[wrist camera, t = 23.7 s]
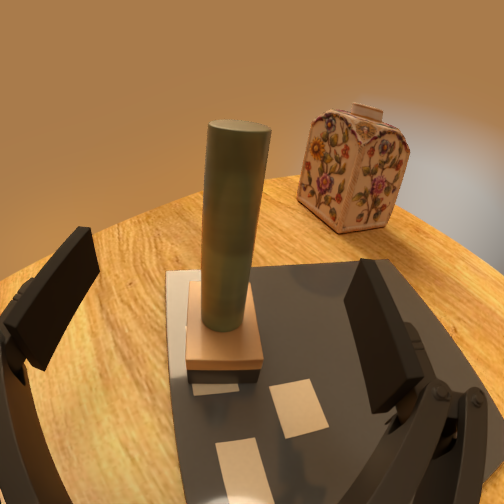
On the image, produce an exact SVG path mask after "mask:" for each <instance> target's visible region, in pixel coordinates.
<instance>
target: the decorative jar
mask: <svg viewBox="0 0 504 504" xmlns="http://www.w3.org/2000/svg"><path fill="white" fill-rule="evenodd" d="M382 116H383V111H382V110H380V109H377V108H374V107H370V106H366V105H363V104H359V103H354V102H353V103H352V109H351V112H347V111H343V110H335V109H331V110H328V111H327V112H324V113H322V114H321V115H320V116H319V117H316V118H315V120H313V121H312V122H311V128H310V132H309V137H308V142H307V147H306V151H305V155H304V160H303V166H302V170H301V176H300V181H299V186H298V192H297V200H299V201H300V202H301V203H302V204H304V205H305V206H306V207H307V208H308V209H310V210H311V211H312V212H313V213H315V214H316V215H317V216H318V217H319V218H320V219H322V220H323V221H324V222H325V223H326V224H327V225H329V226H330V227H331V228H332V229H333V230H334V231H336V232H337V233H345V232H353V231H359V230H366V229H372V228H378V227H384V226H386V225H387V223H388V221H389V219H390V216H391V213H392V211H393V208H394V205H395V202H396V199H397V196H398V192H399V189H400V186H401V183H402V180H403V177H404V173H405V170H406V166H407V162H408V159H409V155H410V149H409V147H408V144H407V143H406V140H405V137H404V136H403V134H402V133H401V132H400V130H399V129H398V128H396V127H394V126H391V125H389V124H386V123H384V122H382Z"/></svg>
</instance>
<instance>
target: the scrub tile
mask: <svg viewBox="0 0 504 504" xmlns="http://www.w3.org/2000/svg"><path fill="white" fill-rule="evenodd" d="M375 262H376V264H377V266H378V268H379V270H380V272H381V274H382V276H383V278H384V280H385V282H386V285H387V287H388V289H389V291H390V293H391V295H392V297H393V300H394V302H395V304H396V306H397V308H398V311H399V313H400V315H401V317H402V320H403V322H411V324H412V325H413V326H414V327H415V328H416V330H417V331H418V333H419V335H420V338H421V340H422V341H421V342H423V345H424V347H425V350H426V352H427V354H428V357H429V359H430V362H431V364H432V367H433V370H434V372H435V375H436V377H437V379H439V380H442V381H444V382H445V383H446V384H448V386H449V387H450V389H451V391H455V392H461V393H465V392H466V391H467V390H468V389H469V388H471V387H478V388H480V389H481V390H482V391H483V392H484V393H485V395H486V397H487V402H488V432H487V451H486V462H485V471H484V478H483V483H484V482H485V481H486V480H487V479H488V478H489V477H490V476H491V475H492V474H493V473H494V471H495V470H496V469H497V468H498V467H499V466H500V465H501V464H502V462H503V461H504V419H503V417H502V415H501V414H500V412H499V410H498V408H497V406H496V405H495V403H494V401H493V400H492V398H491V396H490V395H489V393H488V391H487V390H486V388H485V386H484V385H483V383H482V382H481V380H480V378H479V377H478V375H477V374H476V372H475V371H474V369H473V368H472V366H471V365H470V363H469V362H468V360H467V359H466V357H465V356H464V354H463V353H462V352H461V350H460V349H459V347H458V346H457V344H456V343H455V342H454V340H453V339H452V337H451V336H450V335H449V333H448V332H447V331H446V329H445V328H444V327H443V325H442V324H441V323H440V321H439V320H438V319H437V317H436V316H435V315H434V313H433V312H432V311H431V310H430V308H429V307H428V306H427V305H426V303H425V302H424V301H423V300H422V298H421V297H420V296H419V295H418V293H417V292H416V291H415V290H414V289H413V287H412V286H411V285H410V284H409V283H408V281H407V280H406V279H405V278H404V277H403V275H402V274H401V273H400V272H399V271H398V270H397V268H396V267H395V266H394V265H393V264H392V263H391V262H390V260H389V259H380V260H375ZM358 264H359V261H350V262H334V263H317V264H300V265H282V266H263V267H251V271H250V277H249V282H250V283H251V289H252V295H253V301H254V306H255V312H256V318H257V324H258V329H259V335H260V341H261V346H262V352H263V358H264V360H263V364H262V367H261V371H260V375H259V378H258V381H257V383H242V384H188V379H187V371H186V361H185V353H186V329H187V310H188V294H189V282H190V281H201V269H199V270H174V271H166V332H167V353H168V369H169V382H170V394H171V404H172V414H173V422H174V430H175V438H176V445H177V452H178V459H179V465H180V471H181V477H182V483H183V488H184V493H185V498H186V503H187V504H338V502H339V501H340V500H341V498H342V497H343V496H344V495H345V493H346V492H347V490H348V489H349V488H350V486H351V485H352V484H353V482H354V481H355V479H356V478H357V476H358V475H359V473H360V472H361V470H362V469H363V467H364V466H365V464H366V463H367V461H368V460H369V458H370V456H371V455H372V453H373V452H374V450H375V448H376V447H377V445H378V443H379V442H380V440H381V438H382V436H383V435H384V433H385V431H386V429H387V427H388V425H389V424H390V423H388V424H387V425H385V422H386V421H387V420H388V419H390V418H391V417H392V416H393V415H394V414H395V413H397V410H396V406H394V407H393V408H392V409H391V410H390V411H389V412H387V413H380V414H372V413H371V408H370V403H369V398H368V394H367V389H366V385H365V381H364V376H363V372H362V368H361V364H360V360H359V356H358V352H357V348H356V344H355V340H354V337H353V333H352V329H351V326H350V322H349V318H348V315H347V311H346V308H345V305H344V301H343V300H344V297H345V295H346V293H347V290H348V288H349V286H350V283H351V281H352V278H353V276H354V274H355V271H356V269H357V266H358ZM456 438H457V432H456ZM415 493H416V492H415ZM414 497H415V494H414V496H413V498H412V500H411V502H410V504H412V503H413V500H414Z"/></svg>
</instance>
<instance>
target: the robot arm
mask: <svg viewBox="0 0 504 504" xmlns="http://www.w3.org/2000/svg"><path fill="white" fill-rule="evenodd" d="M99 272H100V270H99V265H98V261H97V257H96V252H95V248H94V243H93V238H92V233H91V228H89V227H80V226H79V227H77V228H76V230H75V231H74V232H73V233H72V234H71V235H70V236H69V237H68V238H67V239H66V241H65V242H64V243H63V244H62V245H61V246H60V247H59V249H58V250H57V251H56V252H55V253H54V254H53V256H52V257H51V258H50V259H49V260H48V262H47V263H46V264H45V265H44V267H43V268H42V269H41V270H40V272H39V273H38V274H37V275H36V277H35V278H30V279H29V280H28V281H27V282H25V283H24V284H23V285H22V286H21V288H20V289H19V290H18V292H17V294H15V296H14V297H13V300H11V301H10V303H9V304H8V306H7V307H6V308H5V310H4V311H3V313H2V314H1V316H0V489H1V491H2V494H3V497H4V499H5V502H6V504H73V503H72V501H71V499H70V497H69V495H68V493H67V491H66V489H65V487H64V485H63V483H62V481H61V478H60V476H59V474H58V472H57V469H56V467H55V464H54V462H53V460H52V457H51V454H50V452H49V449H48V446H47V444H46V441H45V438H44V435H43V432H42V429H41V426H40V422H39V419H38V416H37V412H36V409H35V405H34V401H33V397H32V393H31V388H30V384H29V379H28V374H27V369H26V366H25V364H24V361H25V359H26V358H27V360H28V361H29V363H30V364H31V365H32V366H33V367H35V368H38V369H40V370H43V371H45V370H46V368H47V366H48V364H49V362H50V359H51V357H52V355H53V353H54V351H55V349H56V347H57V345H58V343H59V342H60V340H61V338H62V336H63V334H64V332H65V330H66V328H67V326H68V325H69V323H70V321H71V319H72V317H73V316H74V314H75V312H76V310H77V309H78V307H79V305H80V303H81V302H82V300H83V298H84V297H85V295H86V293H87V292H88V290H89V288H90V287H91V285H92V284H93V282H94V280H95V279H96V277H97V276H98V274H99ZM343 301H344V305H345V308H346V311H347V315H348V318H349V322H350V326H351V329H352V333H353V337H354V340H355V344H356V348H357V352H358V356H359V360H360V364H361V368H362V372H363V376H364V381H365V385H366V389H367V394H368V398H369V403H370V408H371V413H372V414H380V413H387V412H389V411H390V410H391V409H392V408H393V407H394V406H396V410H397V413H395V414H394V415H393V416H392V417H391V418H390V419H388V420H387V421H386V422H385V425H387V424H388V423H390V424H389V425H388V427H387V429H386V431H385V433H384V435H383V436H382V438H381V440H380V442H379V443H378V445H377V447H376V448H375V450H374V452H373V453H372V455H371V456H370V458H369V460H368V461H367V463H366V464H365V466H364V467H363V469H362V470H361V472H360V473H359V475H358V476H357V478H356V479H355V481H354V482H353V484H352V485H351V486H350V488H349V489H348V490H347V492H346V493H345V495H344V496H343V497H342V498H341V500H340V501H339V502H338V504H410V502H411V500H412V498H413V496H414V494H415V497H414V500H413V503H412V504H479V502H480V497H481V491H482V485H483V478H484V471H485V462H486V451H487V432H488V402H487V397H486V395H485V393H484V392H483V391H482V390H481V389H480V388H478V387H471V388H469V389H468V390H467V391H466V392H465V393H461V392H455V391H451V389H450V387H449V386H448V384H446V383H445V382H444V381H442V380H439V379H437V377H436V375H435V372H434V370H433V367H432V364H431V362H430V359H429V357H428V354H427V352H426V350H425V347H424V345H423V342H421V341H422V340H421V338H420V335H419V333H418V331H417V330H416V328H415V327H414V326H413V325H412V324H411V322H403V320H402V317H401V315H400V313H399V311H398V308H397V306H396V304H395V302H394V300H393V297H392V295H391V293H390V291H389V289H388V287H387V285H386V282H385V280H384V278H383V276H382V274H381V272H380V270H379V268H378V266H377V264H376V262H375V260H371V259H363V258H361V259H360V261H359V264H358V266H357V269H356V271H355V274H354V276H353V278H352V281H351V283H350V286H349V288H348V290H347V293H346V295H345V297H344V300H343ZM456 432H457V438H456ZM415 492H416V493H415ZM0 504H1V500H0Z"/></svg>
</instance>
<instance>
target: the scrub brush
mask: <svg viewBox="0 0 504 504" xmlns="http://www.w3.org/2000/svg"><path fill="white" fill-rule="evenodd" d="M271 131H272V130H271V128H270V127H268V126H266V125H262V124H259V123H254V122H249V121H239V120H215V121H212V122H209V124H208V132H207V146H206V159H205V175H204V193H203V215H202V244H201V281H190V282H189V294H188V310H187V329H186V353H185V361H186V371H187V379H188V384H242V383H257V381H258V378H259V375H260V371H261V367H262V364H263V360H264V358H263V352H262V346H261V341H260V335H259V329H258V324H257V318H256V312H255V306H254V301H253V295H252V289H251V283H250V282H249V277H250V271H251V264H252V257H253V251H254V244H255V238H256V231H257V224H258V218H259V211H260V204H261V198H262V191H263V184H264V178H265V171H266V163H267V158H268V151H269V144H270V138H271Z"/></svg>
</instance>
